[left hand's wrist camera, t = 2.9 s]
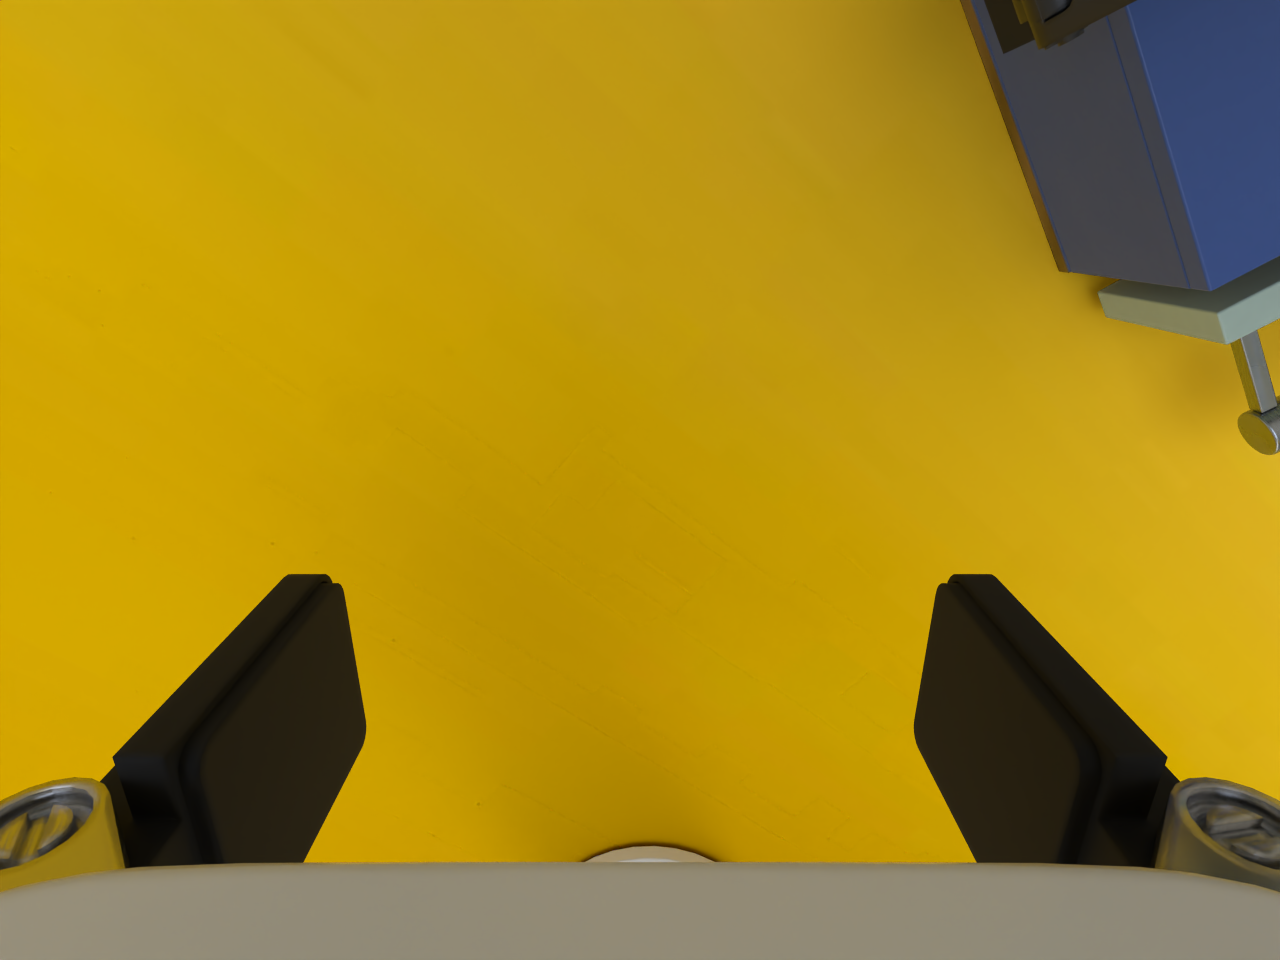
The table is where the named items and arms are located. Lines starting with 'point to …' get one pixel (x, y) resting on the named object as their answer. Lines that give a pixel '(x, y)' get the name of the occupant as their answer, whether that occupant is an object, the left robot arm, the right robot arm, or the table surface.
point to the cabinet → (1150, 138)
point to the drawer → (1217, 332)
